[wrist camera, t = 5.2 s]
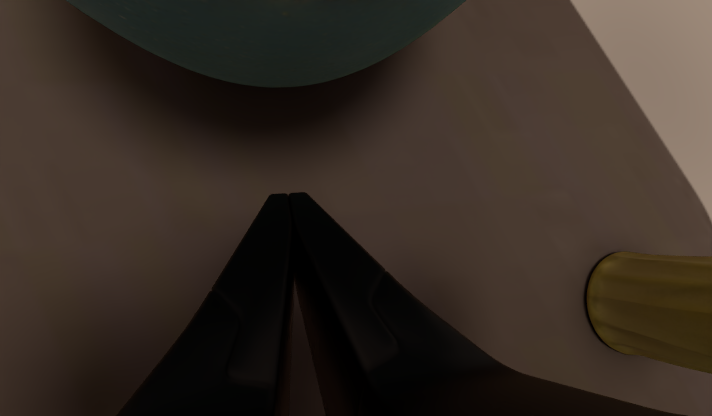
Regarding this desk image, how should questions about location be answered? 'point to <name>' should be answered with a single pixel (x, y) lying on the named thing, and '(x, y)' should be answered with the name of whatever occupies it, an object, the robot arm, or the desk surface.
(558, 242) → the desk surface
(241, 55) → the teal bowl
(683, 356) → the vase
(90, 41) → the desk surface
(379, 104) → the desk surface
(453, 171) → the desk surface
